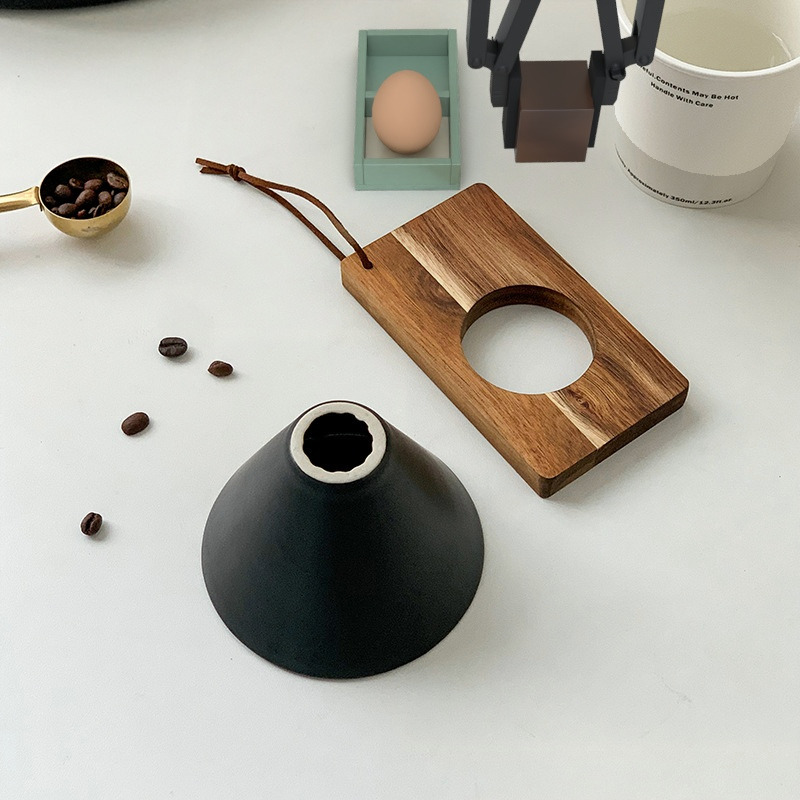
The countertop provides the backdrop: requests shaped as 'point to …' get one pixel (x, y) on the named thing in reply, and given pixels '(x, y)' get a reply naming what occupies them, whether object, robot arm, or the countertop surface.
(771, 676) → the countertop surface
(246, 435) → the countertop surface
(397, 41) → the sorting tray
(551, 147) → the walnut block
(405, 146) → the egg
